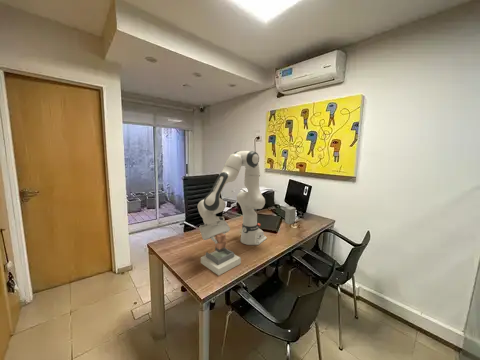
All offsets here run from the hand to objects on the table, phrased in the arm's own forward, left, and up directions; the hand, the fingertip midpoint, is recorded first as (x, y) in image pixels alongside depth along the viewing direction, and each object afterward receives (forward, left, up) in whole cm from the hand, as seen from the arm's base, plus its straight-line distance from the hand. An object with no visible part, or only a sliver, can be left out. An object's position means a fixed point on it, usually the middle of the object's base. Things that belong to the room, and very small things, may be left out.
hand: (221, 241), depth 127 cm
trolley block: (0, -1, -6) cm, 6 cm away
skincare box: (-97, -10, -15) cm, 99 cm away
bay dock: (0, -1, -15) cm, 15 cm away
